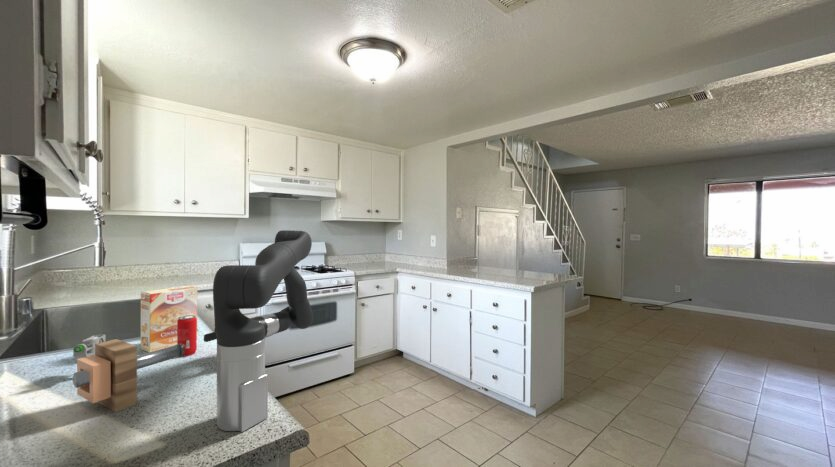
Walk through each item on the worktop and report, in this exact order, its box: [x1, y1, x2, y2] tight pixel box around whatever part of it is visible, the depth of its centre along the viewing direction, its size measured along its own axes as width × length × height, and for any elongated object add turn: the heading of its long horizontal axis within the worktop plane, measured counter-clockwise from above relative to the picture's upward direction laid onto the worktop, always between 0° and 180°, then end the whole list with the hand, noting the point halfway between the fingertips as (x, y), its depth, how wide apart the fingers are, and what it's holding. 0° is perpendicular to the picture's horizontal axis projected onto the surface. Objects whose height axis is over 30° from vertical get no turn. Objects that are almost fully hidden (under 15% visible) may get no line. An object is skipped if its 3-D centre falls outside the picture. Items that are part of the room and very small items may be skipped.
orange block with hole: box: [76, 355, 111, 404], centre depth 77 cm, size 8×3×8 cm, turn 62°
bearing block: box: [95, 338, 138, 413], centre depth 81 cm, size 10×4×14 cm, turn 62°
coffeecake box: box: [140, 285, 198, 353], centre depth 120 cm, size 15×7×20 cm, turn 150°
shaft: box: [72, 344, 185, 389], centre depth 84 cm, size 21×3×3 cm, turn 152°
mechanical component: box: [72, 334, 107, 359], centre depth 95 cm, size 3×10×10 cm, turn 15°
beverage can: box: [177, 315, 198, 357], centre depth 112 cm, size 5×5×12 cm
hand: (213, 340), depth 101 cm, fingers open, 8 cm apart
